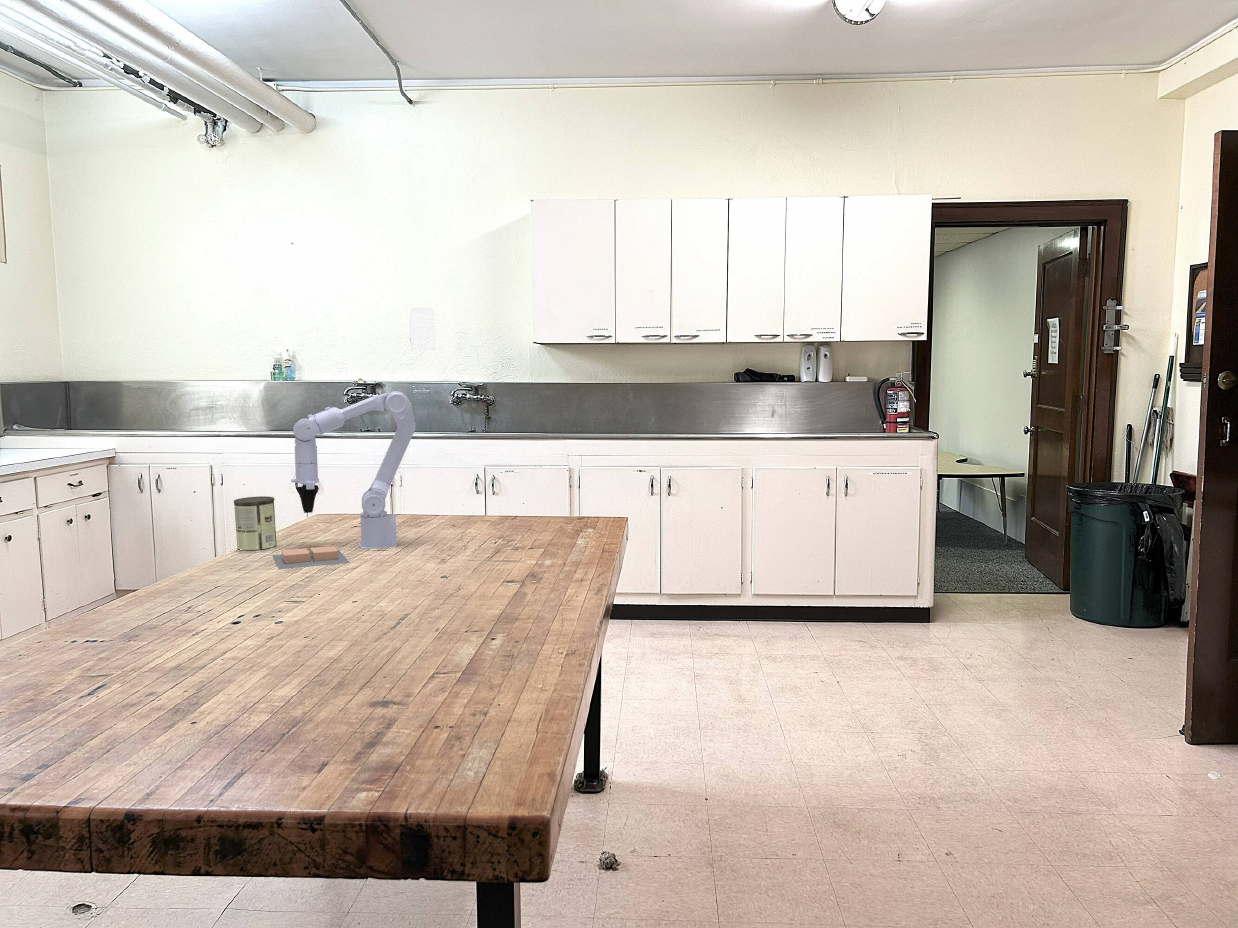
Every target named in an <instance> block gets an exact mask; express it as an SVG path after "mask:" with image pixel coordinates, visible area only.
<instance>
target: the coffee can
mask: <svg viewBox="0 0 1238 928" xmlns="http://www.w3.org/2000/svg"><path fill="white" fill-rule="evenodd" d="M233 505H234V518H235V519H234V520H235V521H234V522H235V534H236V537H235V538H236V547H237V548H236V549H237V551H238V550H240V549H242V550H240V551H238V552H240V553H246V554H247V553H265V552H269V551H273V550H276V549H278V545H277V543H278V542H277V532H276V529H277V527H276V516H275V515H276V514H275V497H273V496H265V495H263V496H262V495H261V496H259V495H258V496H248V497H241V498H237V499H234V500H233Z"/></svg>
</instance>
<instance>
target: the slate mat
mask: <svg viewBox="0 0 1238 928" xmlns="http://www.w3.org/2000/svg"><path fill="white" fill-rule="evenodd" d="M337 550H338V559H334V560H323V561H314V560H313V558H312V557H311V554H310V561H309V562H301V563H289V564H286V563H285V562H284V560H283V558H282V553H281V554H280V553H279V554H272V555H271V556H272V558H273V561H274V563H275V564H276V567H277V569H278V570H287V569H297V568H307V567H308V568H309V567H320V566H329V565H330V566H332V565H339V564H340V565H341V564H342V565H343V564H350V563H351V562H350V561H349V559H347V557H346V556H345V555H344V553H342V551H341V550H340V549H337ZM308 552H309V553H310V551H308Z"/></svg>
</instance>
